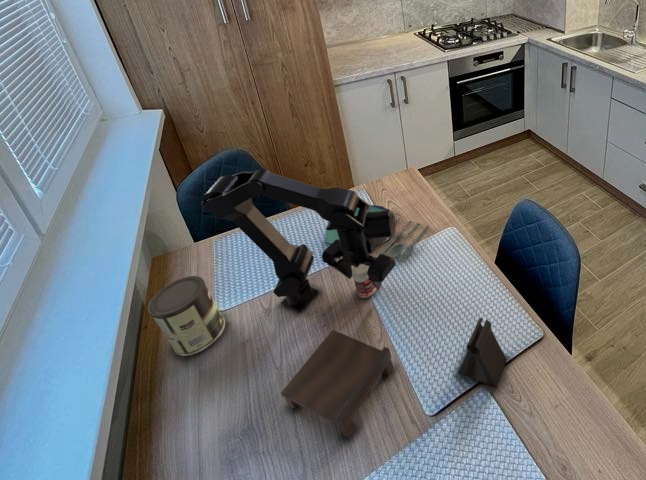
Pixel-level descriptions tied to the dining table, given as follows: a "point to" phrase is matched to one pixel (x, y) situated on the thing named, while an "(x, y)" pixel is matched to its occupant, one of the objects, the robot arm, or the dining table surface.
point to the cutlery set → (396, 250)
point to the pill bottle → (363, 281)
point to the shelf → (338, 379)
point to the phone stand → (483, 356)
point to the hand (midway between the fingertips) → (364, 282)
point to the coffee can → (187, 315)
